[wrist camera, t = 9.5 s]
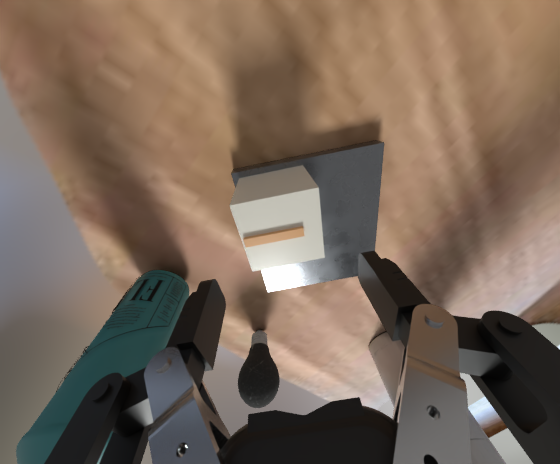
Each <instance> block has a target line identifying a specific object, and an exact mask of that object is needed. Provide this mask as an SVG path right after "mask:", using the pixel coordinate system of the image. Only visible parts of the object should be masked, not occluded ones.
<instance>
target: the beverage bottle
mask: <svg viewBox="0 0 560 464" xmlns="http://www.w3.org/2000/svg"><path fill="white" fill-rule="evenodd" d="M131 286H132V285H131ZM131 286H130V287H131ZM128 290H129V291H128ZM128 290H127V292H128V293H127V292H126V293H127V295H126V293H125V295H124V296H123V297H122V299H121V300H120V302H119V303H118V305H117V306H116V307H115V309H116V310H115V309H114V310H115V311H114V310H113V311H114V312H112V313H113V314H112V315H111V317H110V318H109V319H108V321H107V322H106V323H105V325H104V326H103V328H102V329H101V330H100V332H99V333H98V334H97V336H96V337H95V339H94V340H93V341H92V343H91V344H90V346H88V348H87V347H86V348H87V350H85V349H84V351H85V352H84V351H83V355H81V358H80V359H79V360H78V361H77V362H76V365H75V364H74V365H75V366H74V368H73V369H72V370H69V372H70V373H69V372H68V373H69V374H68V375H67V377H66V378H65V380H64V382H63V383H62V385H61V386H60V388H59V389H58V391H56V393H55V395H54V396H53V398H52V399H51V401H50V402H49V403H48V405H47V406H46V407H45V409H44V410H43V412H42V413H41V415H40V416H39V417H38V419H37V420H36V421H35V423H34V424H33V426H32V427H31V429H30V430H29V431H28V432H27V433H26V434H25V435H24V436H23V437H22V439H21V440H20V442H19V443H18V445H17V450H16V452H17V463H18V464H44V463H45V461H46V460H47V458H48V456H49V455H50V453H51V451H52V450H53V448H54V446H55V445H56V443H57V441H58V440H59V438H60V436H61V435H62V433H63V431H64V430H65V428H66V426H67V425H68V423H69V421H70V420H71V418H72V416H73V415H74V413H75V411H76V410H77V408H78V406H79V405H80V403H81V401H82V400H83V398H84V396H85V395H86V393H87V392H88V391H89V389H90V388H91V387H92V386H93V385H94V384H95V383H96V382H98V381H99V380H100V379H101V378H103V377H105V376H106V375H108V374H111V373H120V374H121V375H122V376H124V377H127V376H129V375H131V374H133V373H135V372H137V371H139V370H141V369H143V368H145V367H146V366H147V365H148V363H149V361H150V360H151V359H152V358H153V357H154V356H155V355H156V354H157V353H158V352H160V351H161V350H163V349H165V348H166V346H167V343H168V341H169V339H170V336H171V334H172V332H173V329H174V327H175V325H176V322H177V320H178V318H179V315H180V313H181V311H182V308H183V306H184V304H185V301H186V300H187V299H188V297H189V287H188V284H187V283H186V282H185V280H184V279H182V278H181V277H180V276H178V275H176V274H174V273H172V272H169V271H164V270H154V271H149V272H147V273H145V274H143V275H142V276H141V277H140V278H138V279H137V280H136V282H135V284H134V285H133V286H132V288H131V289H128ZM123 298H124V299H123ZM112 433H113V431H111V433H110V436H109V438H108V440H107V442H106V445H105V447H104V449H103V451H102V453H101V456H100V458H99V460H98V462H97V464H99V463H100V461H101V458H102V456H103V454H104V452H105V449H106V447H107V445H108V442H109V440H110V438H111V436H112Z"/></svg>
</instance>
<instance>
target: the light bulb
mask: <svg viewBox="0 0 560 464" xmlns="http://www.w3.org/2000/svg"><path fill="white" fill-rule="evenodd" d="M251 343H252V344H251V348H250V351H249V355H248V357H247V359H246V361H245V363H244V364H243V366H242V368H241V371H240V373H239V378H238V389H239V393H240V396H241V398H242V399H243V400H244V402H245V403H246V404H248V405H249V406H251V407H254V408H261V407H264V406H266V405H268V404H269V403H270V402H271V401H272V400H273V399H274V397H275V395H276V393H277V391H278V387H279V373H278V369H277V367H276V364H275V363H274V361H273V359H272V358H271V356H270V353H269V348H268V346H267V334H266V333H265V332H263V331H262V330H257V332H255V333H253V335H252V342H251Z"/></svg>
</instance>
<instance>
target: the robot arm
mask: <svg viewBox="0 0 560 464" xmlns="http://www.w3.org/2000/svg"><path fill="white" fill-rule="evenodd" d="M358 278H359V282H360V284H361V286H362V288H363V290H364V291H365V293H366V295H367V297H368V299H369V300H370V302H371V304H372V306H373V308H374V309H375V311H376V313H377V315H378V317H379V318H380V320H381V322H382V324H383V326H384V327H385V329H386V331H387V332H385V333H383V334H381V335H379V336H378V337H376V338H375V339H374V340H373V341H372V342H371V343H370V346H369V351H370V353H371V355H372V358H373V360H374V362H375V364H376V367H377V369H378V371H379V374H380V376H381V378H382V381H383V383H384V385H385V387H386V390H387V392H388V394H389V397H390V399H391V401H392V403H393V406H394V413H393V418H392V419H391V418H390V417H388V416H387V415H385V414H383V413H382V412H380V411H378V410H375V409H373V408H370V407H366V406H362V404H361V401H360V398H359V397H358V398H351V399H345V400H338V401H332V402H330V403H328V404H326V405H324V406H322V407H320V408H318V409H316V410H315V411H313V412H311V413H309V414H307V415H297V414H293V413H287V412H282V411H277V410H274V411H267V412H260V413H254V414H249V415H248V424H246V425H245V426H243V427H242V428H240V429H239V430H238V431H237V432H236V433H235V434H234V435H232V436H230V434H229V432H228V430H227V428H226V427H225V425H224V423H223V422H222V420H221V418H220V416H219V414H218V412H217V410H216V408H215V405H214V403H213V401H212V399H211V397H210V395H209V393H208V390H207V388H206V386H205V384H204V382H203V380H202V378H203V374H204V371H209V370H213V366H214V362H215V357H216V351H217V347H218V342H219V337H220V333H221V328H222V323H223V318H224V313H225V308H226V302H225V297H224V295H223V293H222V291H221V289H220V287H219V285H218V282H217V281H216V280H215V279H212V280H206V281H201V282H200V284H199V286H198V289H197V291H196V292H193V293H192V294H191V295H190V296H189V297H188V299H187V300H186V301H185V304H184V306H183V308H182V311H181V313H180V315H179V318H178V320H177V322H176V325H175V327H174V329H173V332H172V334H171V336H170V339H169V341H168V343H167V346H166V348H165V349H163V350H161V351H160V352H158V353H157V354H156V355H155V356H154V357H153V358H152V359H151V360H150V361H149V363H148V365H147V366H146V367H145V368H143V369H141V370H139V371H137V372H135V373H133V374H131V375H129V376H127V377H124V376H122V375H121V374H120V373H111V374H108V375H106V376H105V377H103V378H101V379H100V380H99V381H98V382H96V383H95V384H94V385H93V386H92V387H91V388H90V389H89V391H88V392H87V393H86V395H85V396H84V398H83V400H82V401H81V403H80V405H79V406H78V408H77V410H76V411H75V413H74V415H73V416H72V418H71V420H70V421H69V423H68V425H67V426H66V428H65V430H64V431H63V433H62V435H61V436H60V438H59V440H58V441H57V443H56V445H55V446H54V448H53V450H52V451H51V453H50V455H49V456H48V458H47V460H46V461H45V463H44V464H97V462H98V460H99V458H100V456H101V453H102V451H103V449H104V447H105V445H106V442H107V440H108V438H109V436H110V433H111V431H113V433H112V436H111V438H110V440H109V442H108V445H107V447H106V449H105V452H104V454H103V456H102V458H101V461H100V463H99V464H141V461H142V458H143V455H144V452H145V449H146V446H147V442H148V440H149V446H150V451H151V457H152V463H153V464H506V463H505V462H504V460H503V459H502V457H501V456H500V454H499V453H498V451H497V450H496V449H495V447H494V446H493V444H492V443H491V442H490V440H489V439H488V437H487V436H486V434H485V433H484V431H483V430H482V428H481V427H480V425H479V424H478V422H477V421H476V420H475V418H474V417H473V415H472V414H471V412H470V411H469V409H468V404H467V389H466V384H465V381H464V380H463V379H461V377H460V373H465V374H469V375H470V376H471V377H472V379H473V380H474V382H475V383H476V384H477V386H478V387H479V388H480V390H481V391H482V393H483V394H484V395H485V397H486V398H487V400H488V401H489V402H490V404H491V405H492V407H493V408H494V409H495V411H496V412H497V413H498V415H499V416H500V418H501V419H502V420H503V422H504V423H505V425H506V426H507V427H508V429H509V430H510V431H511V433H512V434H513V436H514V437H515V438H516V440H517V441H518V443H519V444H520V445H521V447H522V448H523V449H524V451H525V452H526V454H527V455H528V456H529V458H530V459H531V461H532V462H533V463H534V464H560V350H559V349H558V348H557V347H556V346H555V345H553V344H552V343H551V342H550V341H549V340H548V339H546V338H545V337H544V336H543V335H542V334H541V333H539V332H538V331H537V330H536V329H535V328H534V327H532V326H531V325H530V324H529V323H527V322H526V321H524V320H523V319H521V318H519V317H517V316H515V315H512V314H510V313H506V312H502V311H488V312H486V313H484V314H483V316H482V318H481V319H476V318H467V317H458V316H453V315H451V314H450V313H449V312H447V311H446V310H444V309H443V308H441V307H438V306H436V305H432V304H430V303H429V302H428V301H427V299H426V298H425V297H424V296H423V295H422V294H421V292H420V291H419V290H418V289H417V288H416V287H415V286H414V284H413V283H412V282H411V281H410V280H409V279H408V278H407V276H406V275H405V274H404V273H402V271H401V269H400V268H399V267H398V266H397V265H396V264H395V263H394V262H392V261H390V260H389V259H387V258H384V259H381V258H380V257H379V256H378V255H377V253H376V252H375V251H368V252H363V253H359V255H358Z"/></svg>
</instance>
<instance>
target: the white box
mask: <svg viewBox="0 0 560 464" xmlns="http://www.w3.org/2000/svg"><path fill="white" fill-rule="evenodd" d="M230 208H231V211H232V214H233V217H234V220H235V223H236V226H237V228H238V231H239V234H240V237H241V240H242V243H243V246H244V249H245V251H246V254H247V257H248V260H249V263H250V266H251V269H252V271H258V270H263V269H268V268H274V267H279V266H284V265H289V264H295V263H300V262H305V261H310V260H316V259H321V258H325V255H324V243H323V231H322V220H321V208H320V196H319V187H318V186H317V184H316V183H315V182H314V180H313V179H312V177H311V176H310V175H309V173H308V172H307V170H306V169H305V167H304V166H303V165H301V166H296V167H291V168H286V169H281V170H277V171H272V172H267V173H262V174H257V175H253V176H248V177H243V178H239V180H238V183H237V186H236V188H235V191H234V194H233V197H232V200H231V203H230Z"/></svg>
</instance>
